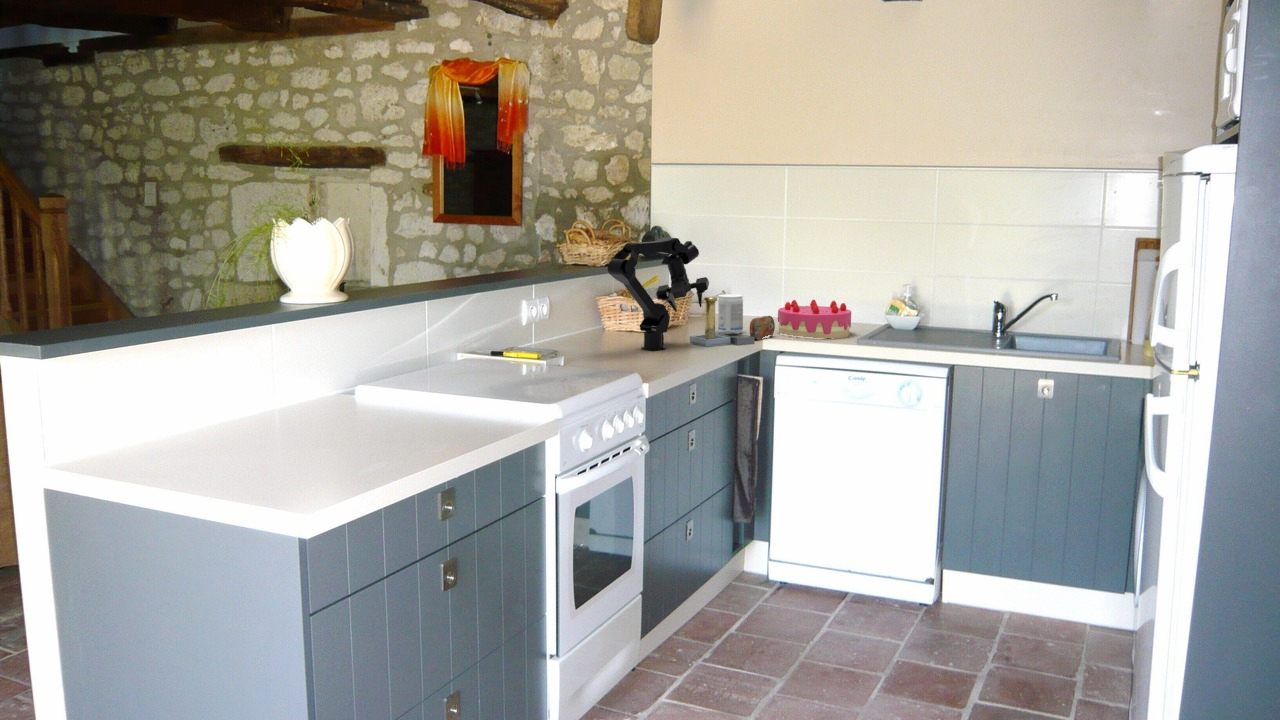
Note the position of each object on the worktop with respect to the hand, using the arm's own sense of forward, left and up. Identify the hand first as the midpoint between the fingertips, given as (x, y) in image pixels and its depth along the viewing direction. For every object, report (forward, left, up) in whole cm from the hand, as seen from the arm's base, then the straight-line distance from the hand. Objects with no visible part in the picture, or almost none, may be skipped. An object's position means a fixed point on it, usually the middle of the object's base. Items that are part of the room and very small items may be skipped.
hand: (688, 309), depth 362 cm
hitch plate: (+16, -7, -13) cm, 22 cm away
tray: (+6, -5, -13) cm, 15 cm away
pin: (+6, -5, -12) cm, 14 cm away
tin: (+30, -9, -13) cm, 34 cm away
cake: (+54, -15, -13) cm, 58 cm away
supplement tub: (+32, +9, -13) cm, 36 cm away
